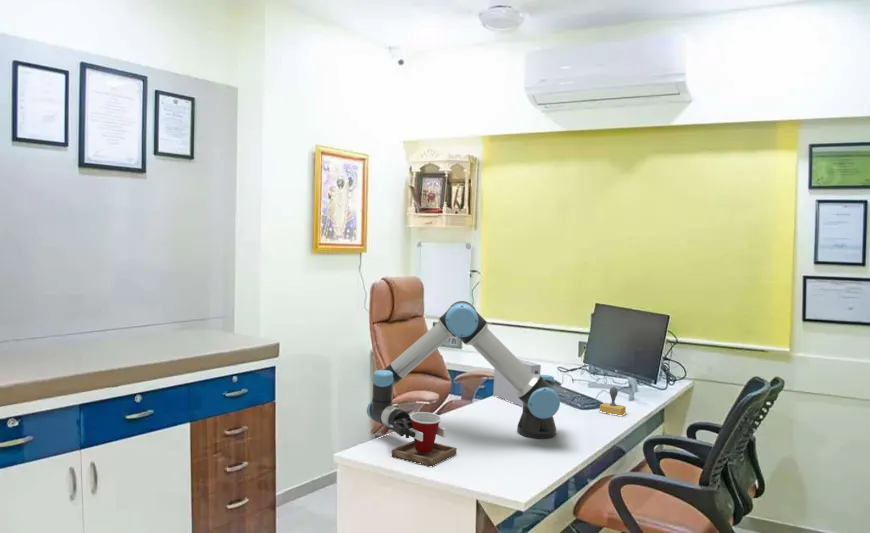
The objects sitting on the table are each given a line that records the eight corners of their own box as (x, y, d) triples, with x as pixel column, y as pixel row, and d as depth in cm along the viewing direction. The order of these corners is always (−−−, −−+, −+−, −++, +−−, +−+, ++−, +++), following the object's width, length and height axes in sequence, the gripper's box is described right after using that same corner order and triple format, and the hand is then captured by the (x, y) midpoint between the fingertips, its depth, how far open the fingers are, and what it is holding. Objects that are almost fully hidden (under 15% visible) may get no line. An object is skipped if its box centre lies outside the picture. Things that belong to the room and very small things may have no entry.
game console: (502, 395, 321) (504, 354, 321) (539, 408, 298) (541, 364, 297) (493, 396, 318) (494, 355, 318) (529, 409, 295) (531, 365, 294)
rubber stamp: (625, 414, 294) (626, 387, 294) (621, 417, 289) (622, 389, 289) (604, 410, 300) (605, 384, 299) (599, 412, 295) (600, 386, 295)
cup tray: (456, 454, 229) (456, 447, 229) (431, 467, 216) (431, 459, 216) (418, 445, 238) (418, 438, 238) (391, 456, 224) (391, 449, 224)
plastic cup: (417, 457, 219) (418, 421, 219) (403, 447, 229) (404, 413, 228) (445, 453, 224) (447, 418, 224) (431, 444, 234) (432, 410, 233)
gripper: (419, 425, 247) (457, 441, 229) (370, 433, 234) (406, 451, 216) (420, 405, 247) (458, 419, 229) (371, 412, 234) (407, 428, 216)
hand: (433, 435), depth 223 cm, fingers closed on plastic cup, 9 cm apart
